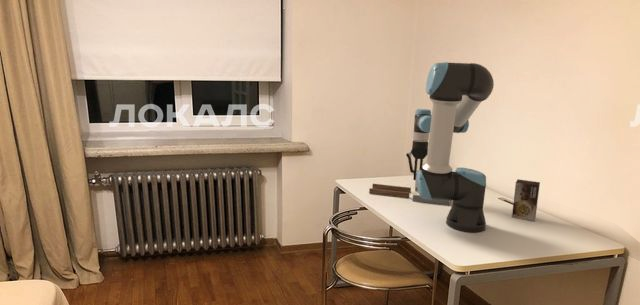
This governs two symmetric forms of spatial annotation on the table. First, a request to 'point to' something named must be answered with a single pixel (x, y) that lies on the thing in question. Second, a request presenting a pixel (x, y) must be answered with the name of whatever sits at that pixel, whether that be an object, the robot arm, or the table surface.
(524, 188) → the coffee box
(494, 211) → the table surface
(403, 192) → the chute
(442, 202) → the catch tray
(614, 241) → the table surface
